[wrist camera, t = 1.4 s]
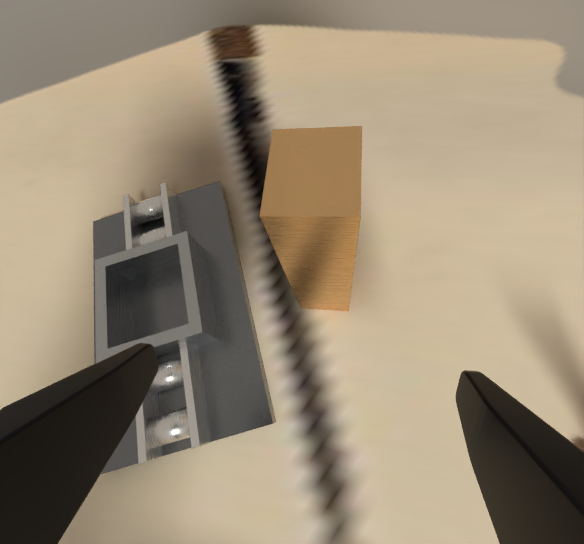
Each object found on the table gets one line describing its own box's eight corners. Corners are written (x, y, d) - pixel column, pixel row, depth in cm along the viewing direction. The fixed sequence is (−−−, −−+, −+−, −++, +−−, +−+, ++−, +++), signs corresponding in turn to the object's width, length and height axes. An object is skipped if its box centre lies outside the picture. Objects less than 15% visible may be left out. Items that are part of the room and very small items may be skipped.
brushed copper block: (348, 310, 22) (360, 216, 10) (300, 308, 23) (259, 216, 11) (349, 260, 24) (362, 125, 12) (305, 259, 24) (272, 129, 12)
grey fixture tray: (275, 421, 20) (261, 429, 16) (106, 471, 20) (55, 489, 17) (223, 188, 28) (206, 157, 24) (101, 227, 28) (65, 202, 25)
